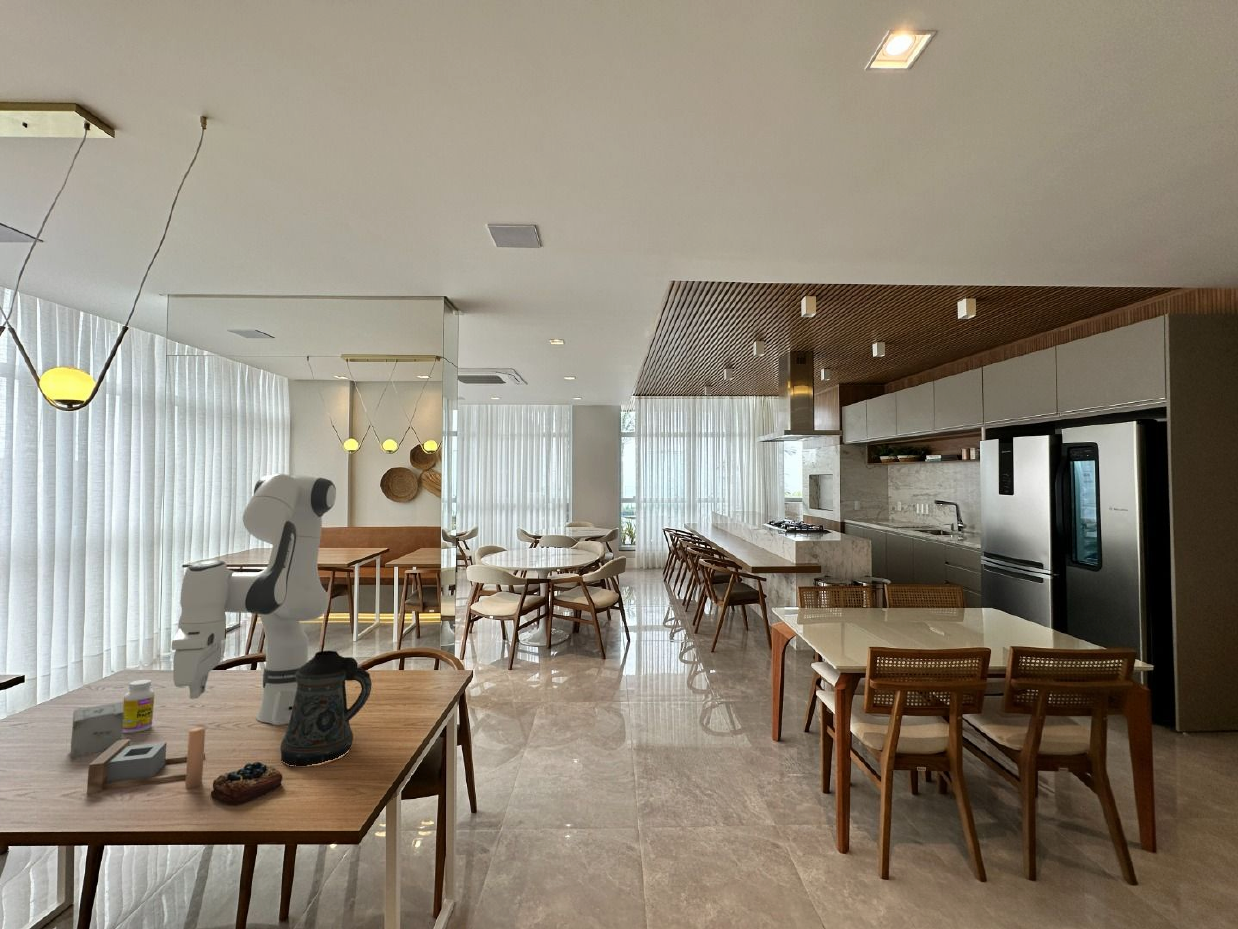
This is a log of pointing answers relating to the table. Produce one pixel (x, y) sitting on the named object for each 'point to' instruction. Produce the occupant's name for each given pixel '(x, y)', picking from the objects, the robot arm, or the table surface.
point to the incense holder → (96, 728)
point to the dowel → (195, 757)
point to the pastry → (246, 784)
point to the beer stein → (323, 710)
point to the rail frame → (99, 780)
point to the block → (137, 762)
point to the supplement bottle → (138, 707)
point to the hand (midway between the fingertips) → (197, 695)
